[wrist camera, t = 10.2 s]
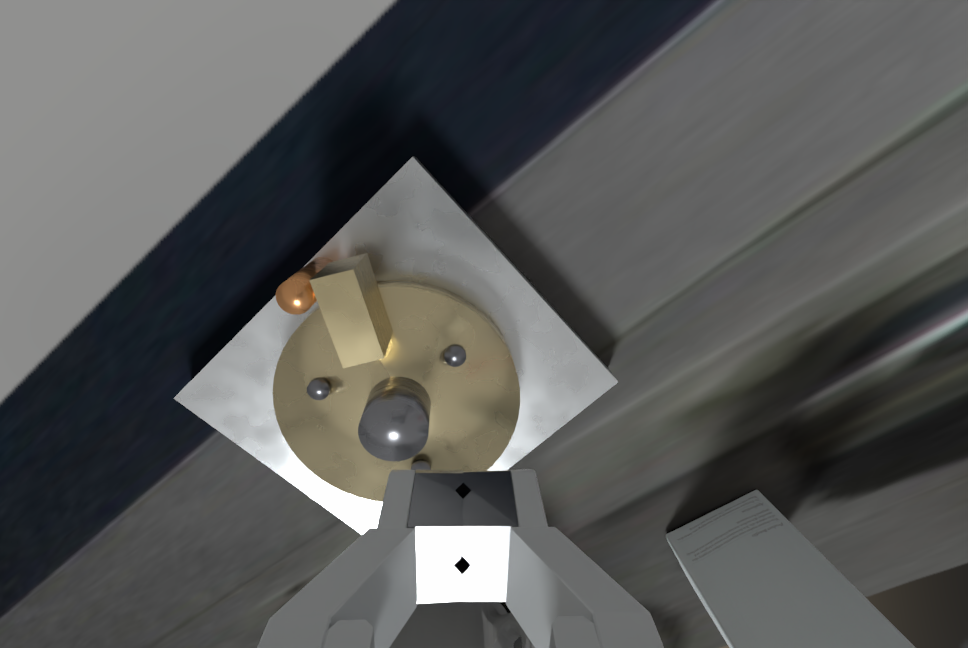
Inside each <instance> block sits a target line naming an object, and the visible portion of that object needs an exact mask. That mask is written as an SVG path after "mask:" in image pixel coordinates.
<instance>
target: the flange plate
mask: <svg viewBox="0 0 968 648" xmlns="http://www.w3.org/2000/svg"><path fill="white" fill-rule="evenodd" d="M309 281H310V284H311V286H312V289H313V292H314V294H315V297H316V299H317V302H318V305H319V307H317V308H316V309H315V310H314V311H313V312H312V313H311V314H310V315H309V316H308V317H307V318H306V319H305V320H304V321H303V322H302V323H301V325H300V326H299V327H298V328H297V329H296V331H295V332H294V333H293V334H292V335H291V337H290V338H289V340H288V342H287V343H286V345H285V347H284V348H283V350H282V353H281V355H280V358H279V360H278V362H277V366H276V370H275V374H274V381H273V405H274V410H275V415H276V419H277V422H278V425H279V427H280V430H281V433H282V435H283V437H284V438H285V440H286V442H287V444H288V446H289V447H290V448H291V450H292V451H293V452H294V454H295V455H296V457H297V458H298V459H299V460H300V461H301V462H302V463H303V464H304V465H305V466H306V467H307V468H308V469H309V470H310V471H311V472H313V473H314V474H315V475H316V476H318V477H319V478H320V479H322V480H323V481H325V482H327V483H328V484H330V485H331V486H333V487H335V488H337V489H339V490H341V491H343V492H346V493H348V494H351V495H354V496H357V497H360V498H364V499H368V500H372V501H379V502H383V499H384V494H385V490H386V486H387V481H388V477H389V474H390V472H391V470H461V471H487V470H488V469H489V468H490V467H492V466H493V465H494V463H495V462H496V461H497V460H498V458H499V457H500V456H501V455H502V453H503V452H504V450H505V449H506V447H507V445H508V444H509V442H510V440H511V437H512V435H513V433H514V431H515V427H516V424H517V420H518V416H519V409H520V386H519V380H518V375H517V372H516V368H515V365H514V362H513V359H512V355H511V352H510V350H509V348H508V346H507V344H506V342H505V339H504V338H503V336H502V335H501V333H500V332H499V330H498V329H497V327H496V326H495V325H494V324H493V323H492V321H491V320H490V319H489V318H488V317H487V316H486V315H485V314H484V313H483V312H482V311H480V310H479V309H478V308H477V307H476V306H475V305H473V304H472V303H470V302H469V301H467V300H466V299H464V298H463V297H461V296H459V295H457V294H455V293H453V292H451V291H449V290H447V289H444V288H441V287H438V286H435V285H432V284H427V283H422V282H417V281H409V280H382V281H376V278H375V275H374V272H373V269H372V266H371V263H370V260H369V257H368V254H367V253H366V254H362V255H358V256H354V257H350V258H346V259H342V260H338V261H334V262H330V263H328V264H327V265H326V266H325V267H324V268H322V269H321V270H320V271H319V272H318V273H317V274H316V275H314V276H313V277H312V278H311V279H310V280H309Z"/></svg>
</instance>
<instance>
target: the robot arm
mask: <svg viewBox="0 0 968 648" xmlns="http://www.w3.org/2000/svg"><path fill="white" fill-rule="evenodd" d="M459 601H469V602H506V605H507V607H508V608H509V610H510V611H511V613H512V614H513V616H514V617H515V619H516V620H517V622H518V623H519V625H520V626H521V628H522V629H523V631H524V632H525V634H526V635H527V637H528V638H529V639H530V641H531V642H532V644H533V645H534V647H535V648H664V646H663V644H662V641H661V639H660V636H659V634H658V632H657V629H656V627H655V624H654V622H653V619H652V617H651V614H650V613H649V612H648V611H647V610H646V609H645V608H644V607H643V606H642V605H641V604H640V603H638V602H637V601H636V600H635V599H634V598H633V597H632V596H631V595H630V594H629V593H627V592H626V591H625V590H624V589H623V588H622V587H621V586H620V585H619V584H618V583H616V582H615V581H614V580H613V579H612V578H611V577H610V576H609V575H608V574H607V573H605V572H604V571H603V570H602V569H601V568H600V567H599V566H598V565H597V564H596V563H594V562H593V561H592V560H591V559H590V558H589V557H588V556H587V555H586V554H585V553H583V552H582V551H581V550H580V549H579V548H578V547H577V546H576V545H575V544H574V543H572V542H571V541H570V540H569V539H568V538H567V537H566V536H565V535H564V534H563V533H561V532H560V531H559V530H558V529H557V528H556V527H548V524H547V520H546V515H545V511H544V507H543V502H542V498H541V494H540V489H539V485H538V481H537V476H536V472H535V471H534V470H533V469H519V470H510V471H461V470H391V472H390V474H389V477H388V481H387V486H386V490H385V494H384V499H383V503H382V507H381V512H380V516H379V520H378V525H377V528H369V529H368V530H367V531H366V532H365V533H364V534H362V535H361V536H360V537H359V538H358V539H357V540H356V541H355V542H354V543H353V544H351V545H350V546H349V547H348V548H347V549H346V550H345V551H344V552H343V553H341V554H340V555H339V556H338V557H337V558H336V559H335V560H334V561H333V562H332V563H330V564H329V565H328V566H327V567H326V568H325V569H324V570H323V571H322V572H320V573H319V574H318V575H317V576H316V577H315V578H314V579H313V580H312V581H311V582H309V583H308V584H307V585H306V586H305V587H304V588H303V589H302V590H301V591H299V592H298V593H297V594H296V595H295V596H294V597H293V598H292V599H291V600H290V601H288V602H287V603H286V604H285V605H284V606H283V607H282V608H281V609H280V610H278V611H277V612H276V613H275V614H274V615H273V616H272V617H271V618H270V619H269V621H268V623H267V626H266V628H265V630H264V633H263V635H262V638H261V640H260V642H259V645H258V647H257V648H389V647H390V646H391V644H392V643H393V641H394V640H395V638H396V637H397V635H398V634H399V632H400V631H401V629H402V628H403V627H404V625H405V624H406V622H407V621H408V619H409V618H410V616H411V615H412V613H413V612H414V610H415V609H416V607H417V603H437V602H459Z"/></svg>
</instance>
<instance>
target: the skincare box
mask: <svg viewBox="0 0 968 648" xmlns="http://www.w3.org/2000/svg"><path fill="white" fill-rule="evenodd" d="M666 538H667V541H668V543H669V544H670V546H671V548H672V550H673V552H674V554H675V556H676V557H677V559H678V561H679V563H680V565H681V567H682V569H683V570H684V572H685V574H686V576H687V578H688V580H689V581H690V583H691V585H692V586H693V588H694V590H695V592H696V593H697V595H698V597H699V598H700V600H701V602H702V603H703V605H704V606H705V608H706V610H707V611H708V613H709V615H710V616H711V618H712V620H713V621H714V623H715V625H716V626H717V628H718V629H719V631H720V633H721V634H722V636H723V638H724V639H725V641H726V643H727V644H728V646H729V647H730V648H915V647H914V646H913V645H912V644H911V643H910V642H909V641H908V640H907V639H906V638H905V637H904V636H903V635H902V634H901V633H900V632H899V631H898V630H897V629H896V628H895V627H894V626H893V625H892V624H891V623H890V622H889V621H888V620H887V619H886V618H885V617H884V616H883V615H882V614H881V613H880V612H879V611H878V610H877V609H876V608H875V607H874V606H873V605H872V604H871V603H870V602H869V601H868V600H867V599H866V598H865V597H864V596H863V595H862V594H861V593H860V592H859V591H858V590H857V589H856V588H855V587H854V586H853V585H852V584H851V583H850V582H849V581H848V580H847V579H846V578H845V577H844V576H843V575H842V574H841V573H840V572H839V571H838V570H837V569H836V568H835V567H834V566H833V565H832V564H831V563H830V562H829V561H828V560H827V559H826V558H825V557H824V556H823V555H822V554H821V553H820V552H819V551H818V550H817V549H816V548H815V547H814V546H813V545H812V544H811V543H810V542H809V541H808V540H807V539H806V538H805V537H804V536H803V535H802V534H801V533H800V532H799V531H798V530H797V529H796V528H795V527H794V526H793V525H792V524H791V523H790V522H789V521H788V520H787V519H786V518H785V517H784V516H783V515H782V514H781V513H780V512H779V511H778V510H777V509H776V508H775V507H774V506H773V505H772V504H771V503H770V502H769V501H768V500H767V499H766V498H765V497H764V496H763V495H762V494H761V493H760V492H759V491H758V490H754V491H752V492H750V493H748V494H746V495H744V496H742V497H740V498H738V499H736V500H734V501H732V502H730V503H728V504H726V505H724V506H722V507H720V508H718V509H716V510H714V511H712V512H710V513H708V514H706V515H704V516H702V517H700V518H698V519H696V520H694V521H692V522H690V523H688V524H686V525H684V526H682V527H680V528H678V529H676V530H674V531H672V532H670V533H667V534H666Z"/></svg>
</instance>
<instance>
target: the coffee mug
mask: <svg viewBox="0 0 968 648" xmlns="http://www.w3.org/2000/svg"><path fill="white" fill-rule="evenodd" d="M520 636H521V639H522V646H523V648H535V647H534V645H533V644H532V642H531V641H530V639H529V638H528V637H527V635H526V634H525V632H524V631H523V629H522V628H521V626H520V625H519V623H518V622H517V620H516V619H515V617H514V616H513V614H512V613H508V614H507V612H506V610H505V609H504V607H503V606H502V605H501V604H500V603H499V602H469V601H459V602H437V603H417V607H416V609H415V610H414V612H413V613H412V615H411V616H410V618H409V619H408V621H407V622H406V624H405V625H404V627H403V628H402V629H401V631H400V632H399V634H398V635H397V637H396V638H395V640H394V641H393V643H392V644H391V646H390V647H389V648H513V644H514V642H515V640H516V639H517V638H519V637H520Z"/></svg>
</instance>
